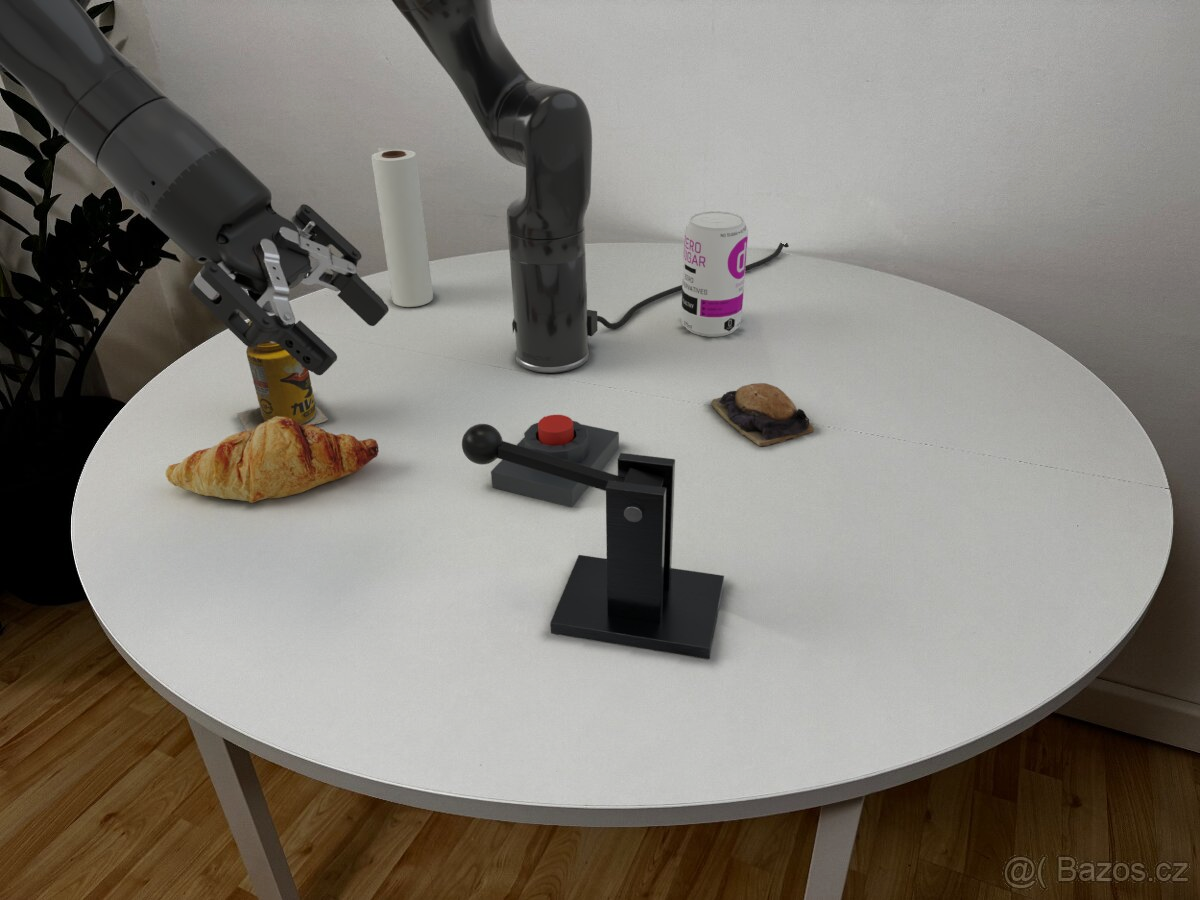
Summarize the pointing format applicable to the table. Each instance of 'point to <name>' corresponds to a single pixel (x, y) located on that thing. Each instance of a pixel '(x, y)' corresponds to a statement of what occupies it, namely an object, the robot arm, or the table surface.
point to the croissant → (271, 461)
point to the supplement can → (713, 273)
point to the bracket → (640, 575)
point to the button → (555, 430)
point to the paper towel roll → (403, 226)
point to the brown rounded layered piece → (762, 414)
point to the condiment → (279, 388)
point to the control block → (584, 449)
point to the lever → (542, 460)
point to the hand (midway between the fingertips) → (356, 341)
